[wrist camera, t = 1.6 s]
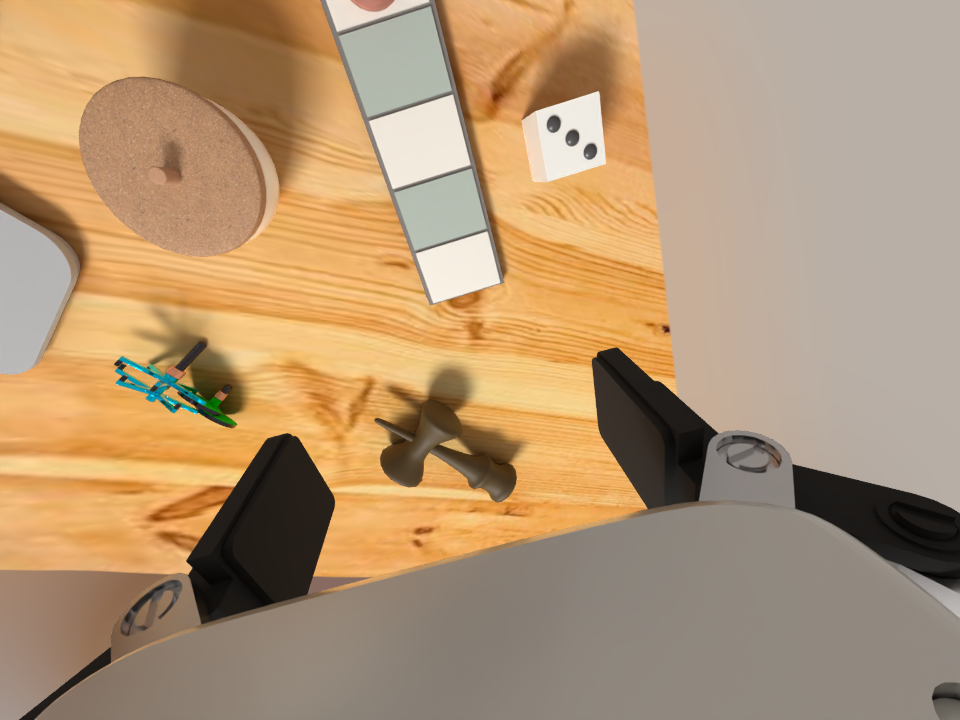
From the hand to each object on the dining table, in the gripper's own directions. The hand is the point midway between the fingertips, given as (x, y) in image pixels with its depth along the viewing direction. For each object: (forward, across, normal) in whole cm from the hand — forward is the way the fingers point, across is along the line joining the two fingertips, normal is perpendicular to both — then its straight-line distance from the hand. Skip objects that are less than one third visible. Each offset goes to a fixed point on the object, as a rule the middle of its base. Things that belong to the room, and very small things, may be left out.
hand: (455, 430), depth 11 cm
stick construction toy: (+28, +28, +6) cm, 40 cm away
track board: (+28, -1, -10) cm, 30 cm away
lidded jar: (+28, +16, -11) cm, 34 cm away
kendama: (+28, +6, +22) cm, 37 cm away
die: (+28, -13, -7) cm, 32 cm away
